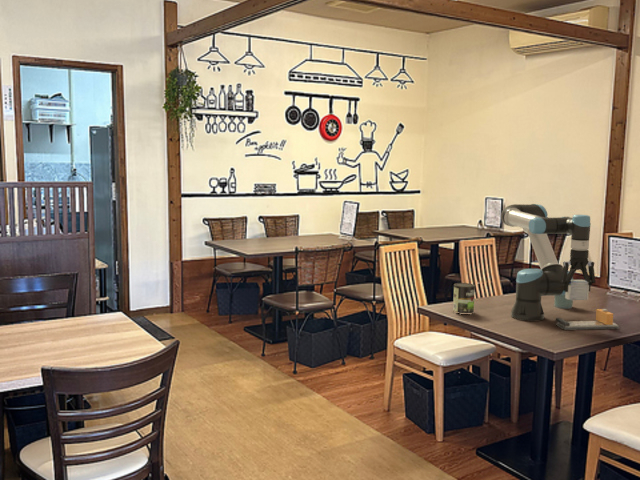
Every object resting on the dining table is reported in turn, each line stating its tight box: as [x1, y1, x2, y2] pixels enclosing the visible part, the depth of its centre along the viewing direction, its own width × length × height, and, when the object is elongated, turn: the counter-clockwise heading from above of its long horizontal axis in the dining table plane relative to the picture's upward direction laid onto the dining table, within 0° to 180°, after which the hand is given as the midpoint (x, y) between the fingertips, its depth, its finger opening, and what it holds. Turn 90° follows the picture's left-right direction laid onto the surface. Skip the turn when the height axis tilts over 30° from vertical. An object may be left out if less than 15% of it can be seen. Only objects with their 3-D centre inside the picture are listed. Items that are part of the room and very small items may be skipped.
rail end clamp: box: [595, 308, 614, 325], centre depth 283 cm, size 3×9×6 cm, turn 6°
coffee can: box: [452, 282, 476, 314], centre depth 308 cm, size 10×10×14 cm
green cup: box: [554, 295, 574, 310], centre depth 320 cm, size 10×10×12 cm
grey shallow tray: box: [555, 317, 620, 331], centre depth 283 cm, size 26×9×3 cm, turn 96°
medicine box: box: [569, 279, 588, 301], centre depth 280 cm, size 8×4×9 cm, turn 92°
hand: (576, 298), depth 280 cm, fingers closed on medicine box, 8 cm apart
